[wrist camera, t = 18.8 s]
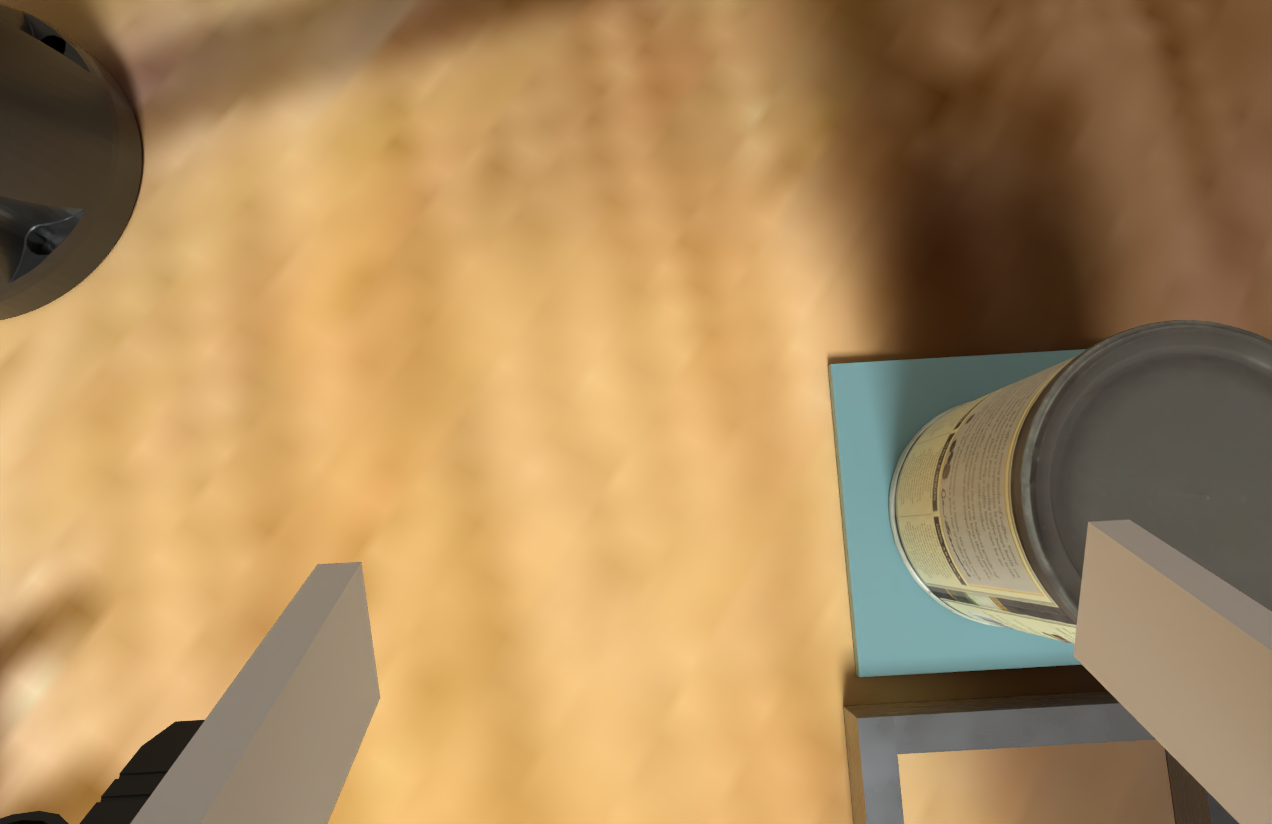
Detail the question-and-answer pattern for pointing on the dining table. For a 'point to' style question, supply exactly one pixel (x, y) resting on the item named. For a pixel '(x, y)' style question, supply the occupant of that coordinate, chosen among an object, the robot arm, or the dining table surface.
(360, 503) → the dining table surface
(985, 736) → the socket frame
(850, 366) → the mat
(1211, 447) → the coffee can
